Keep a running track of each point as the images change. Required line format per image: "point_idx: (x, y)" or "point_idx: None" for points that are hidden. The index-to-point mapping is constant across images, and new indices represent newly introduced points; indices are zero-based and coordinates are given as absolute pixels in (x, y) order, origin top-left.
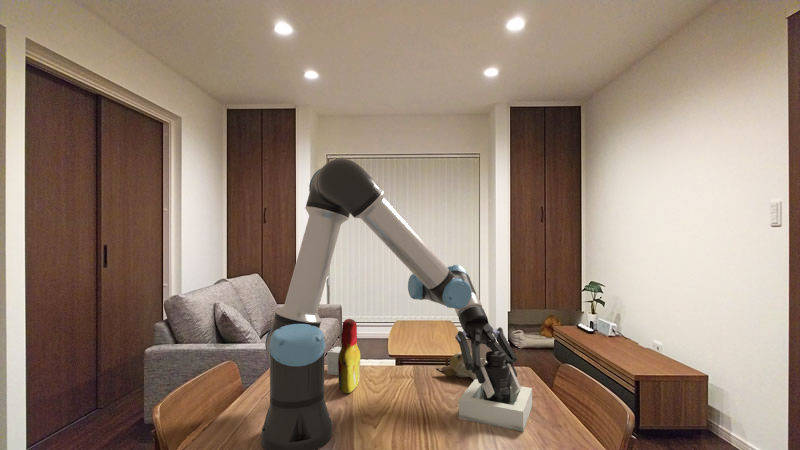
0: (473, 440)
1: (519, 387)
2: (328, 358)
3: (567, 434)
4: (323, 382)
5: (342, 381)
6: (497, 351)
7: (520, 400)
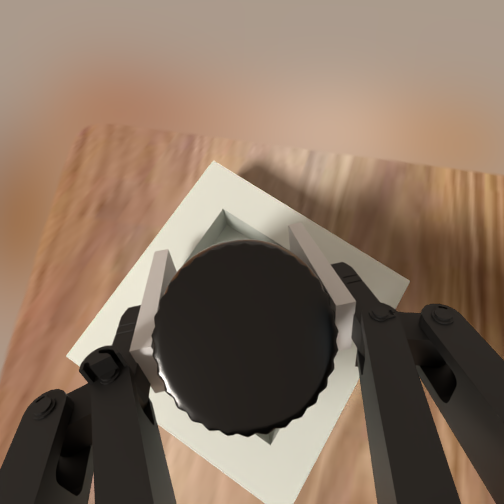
0: (361, 169)
1: (160, 253)
2: None
3: (112, 163)
4: None
5: None
6: (198, 407)
7: (179, 241)
